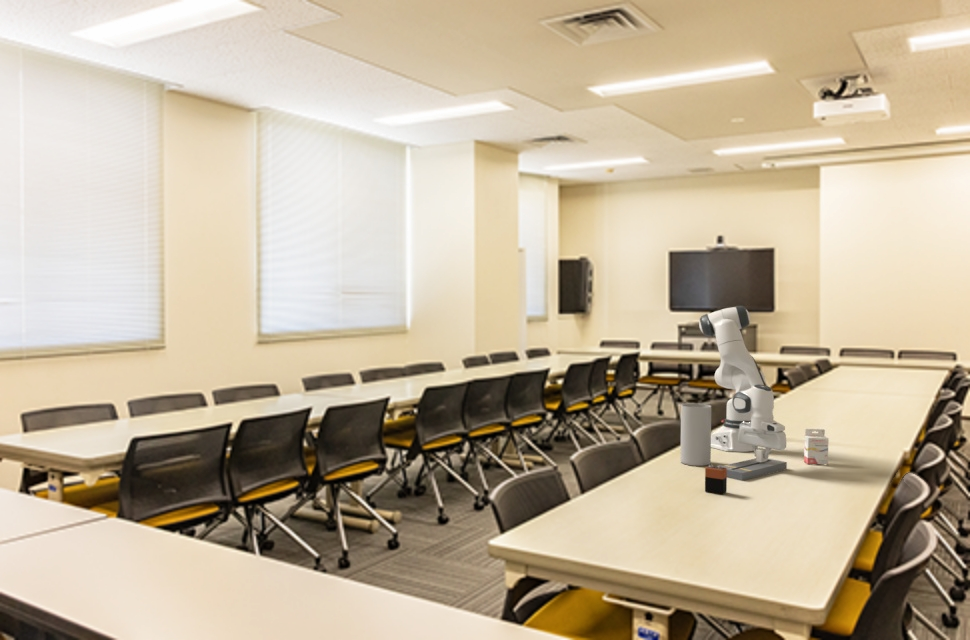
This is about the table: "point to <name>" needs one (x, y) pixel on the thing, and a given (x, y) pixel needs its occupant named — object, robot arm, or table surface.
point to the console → (753, 468)
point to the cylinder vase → (695, 434)
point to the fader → (760, 455)
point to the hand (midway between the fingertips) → (761, 457)
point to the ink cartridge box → (816, 447)
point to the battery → (715, 479)
